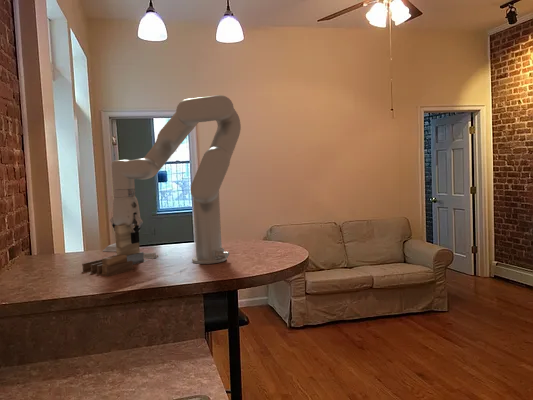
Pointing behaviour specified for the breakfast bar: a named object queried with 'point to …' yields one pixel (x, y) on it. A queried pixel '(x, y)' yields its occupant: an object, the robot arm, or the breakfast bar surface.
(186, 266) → the breakfast bar surface
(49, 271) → the breakfast bar surface
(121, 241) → the beige wooden block
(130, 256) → the stand
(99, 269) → the rack
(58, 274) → the breakfast bar surface
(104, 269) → the offcut bottom
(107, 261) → the offcut top
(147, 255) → the molding
